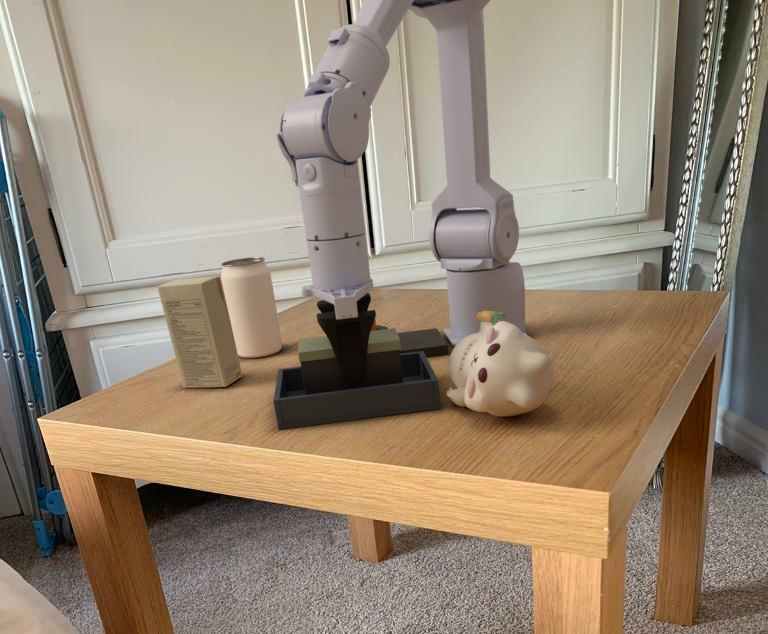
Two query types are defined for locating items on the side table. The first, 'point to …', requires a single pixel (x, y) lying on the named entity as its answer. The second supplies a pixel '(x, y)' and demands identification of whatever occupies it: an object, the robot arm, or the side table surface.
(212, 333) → the cosmetic box
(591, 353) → the side table surface
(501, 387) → the cat figurine
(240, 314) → the can
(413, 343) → the control block
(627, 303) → the side table surface
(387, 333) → the green-topped black block
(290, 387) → the tray
